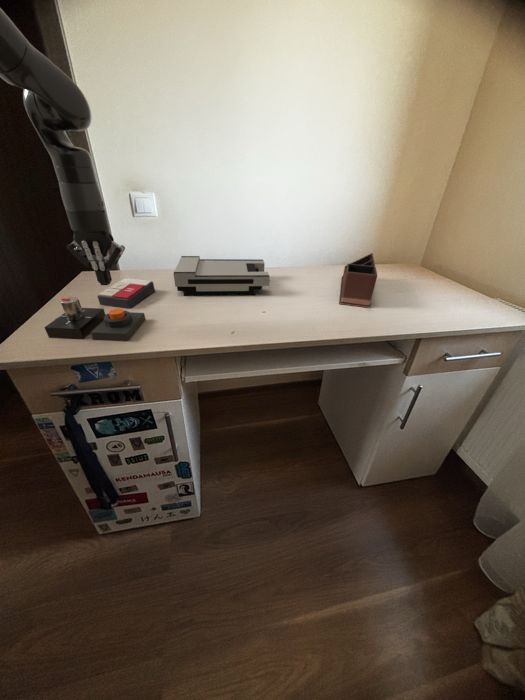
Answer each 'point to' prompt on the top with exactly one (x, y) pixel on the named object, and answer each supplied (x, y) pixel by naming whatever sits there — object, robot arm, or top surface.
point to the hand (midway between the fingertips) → (106, 284)
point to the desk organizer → (358, 282)
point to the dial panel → (75, 324)
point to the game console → (219, 276)
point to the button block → (118, 327)
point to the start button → (116, 314)
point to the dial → (72, 308)
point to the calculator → (126, 293)
